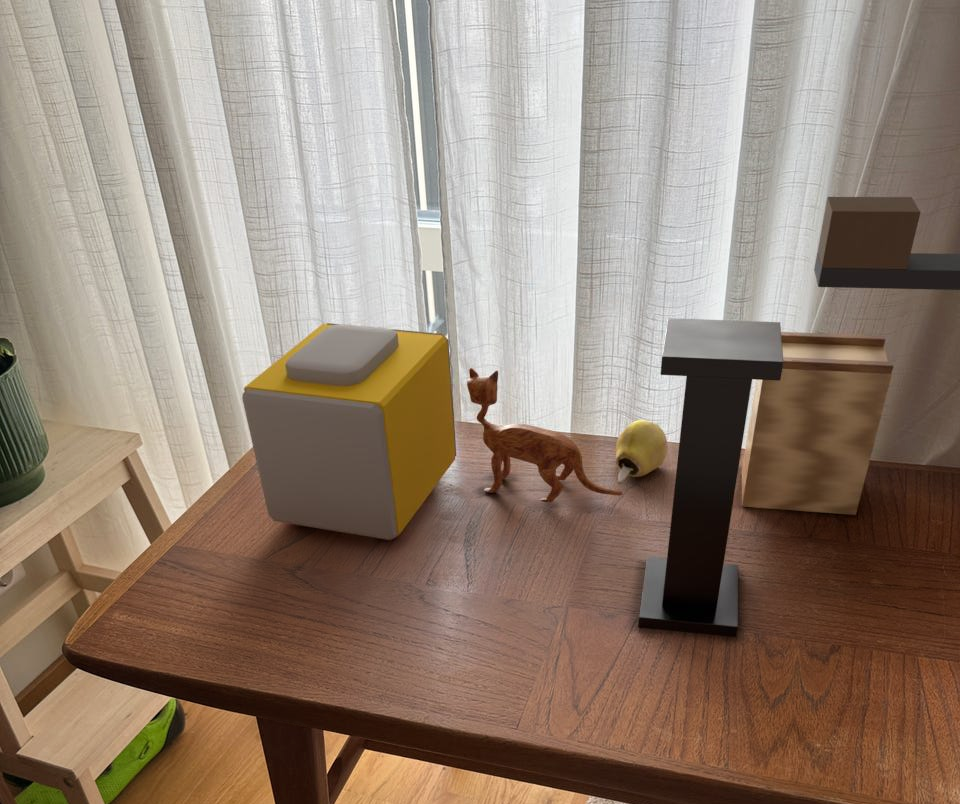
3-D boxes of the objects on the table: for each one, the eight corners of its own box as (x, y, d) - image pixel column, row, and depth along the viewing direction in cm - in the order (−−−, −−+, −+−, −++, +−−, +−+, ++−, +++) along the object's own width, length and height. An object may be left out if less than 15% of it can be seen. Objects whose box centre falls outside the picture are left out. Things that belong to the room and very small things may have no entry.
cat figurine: (628, 488, 105) (636, 375, 97) (615, 518, 101) (622, 402, 92) (481, 468, 111) (476, 358, 102) (462, 495, 106) (455, 383, 97)
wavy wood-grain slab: (849, 478, 105) (884, 334, 94) (855, 515, 99) (894, 366, 88) (741, 470, 107) (763, 330, 97) (741, 506, 102) (765, 360, 91)
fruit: (594, 486, 106) (621, 437, 112) (641, 507, 106) (667, 456, 111) (607, 449, 102) (636, 400, 108) (657, 471, 101) (683, 420, 107)
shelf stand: (736, 574, 92) (779, 317, 75) (736, 637, 84) (784, 367, 68) (646, 566, 94) (668, 313, 77) (638, 627, 86) (661, 361, 70)
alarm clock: (342, 453, 115) (319, 306, 103) (460, 469, 111) (451, 317, 99) (264, 536, 101) (227, 378, 89) (396, 559, 97) (375, 395, 85)
